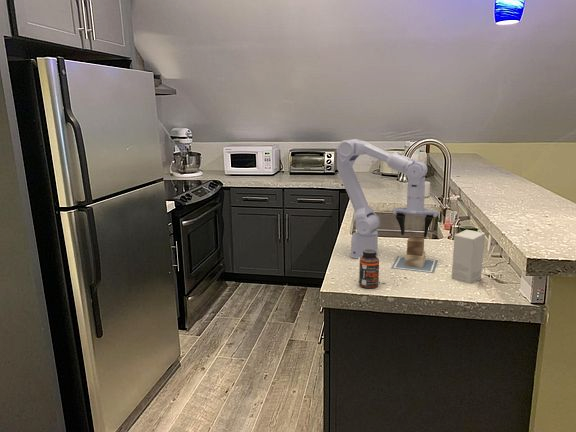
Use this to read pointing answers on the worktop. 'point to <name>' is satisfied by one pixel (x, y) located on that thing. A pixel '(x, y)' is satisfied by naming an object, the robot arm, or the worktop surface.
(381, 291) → the worktop surface
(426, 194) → the mug
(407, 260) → the maple base block
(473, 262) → the skincare box
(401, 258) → the board
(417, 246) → the walnut cube
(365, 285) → the supplement bottle
